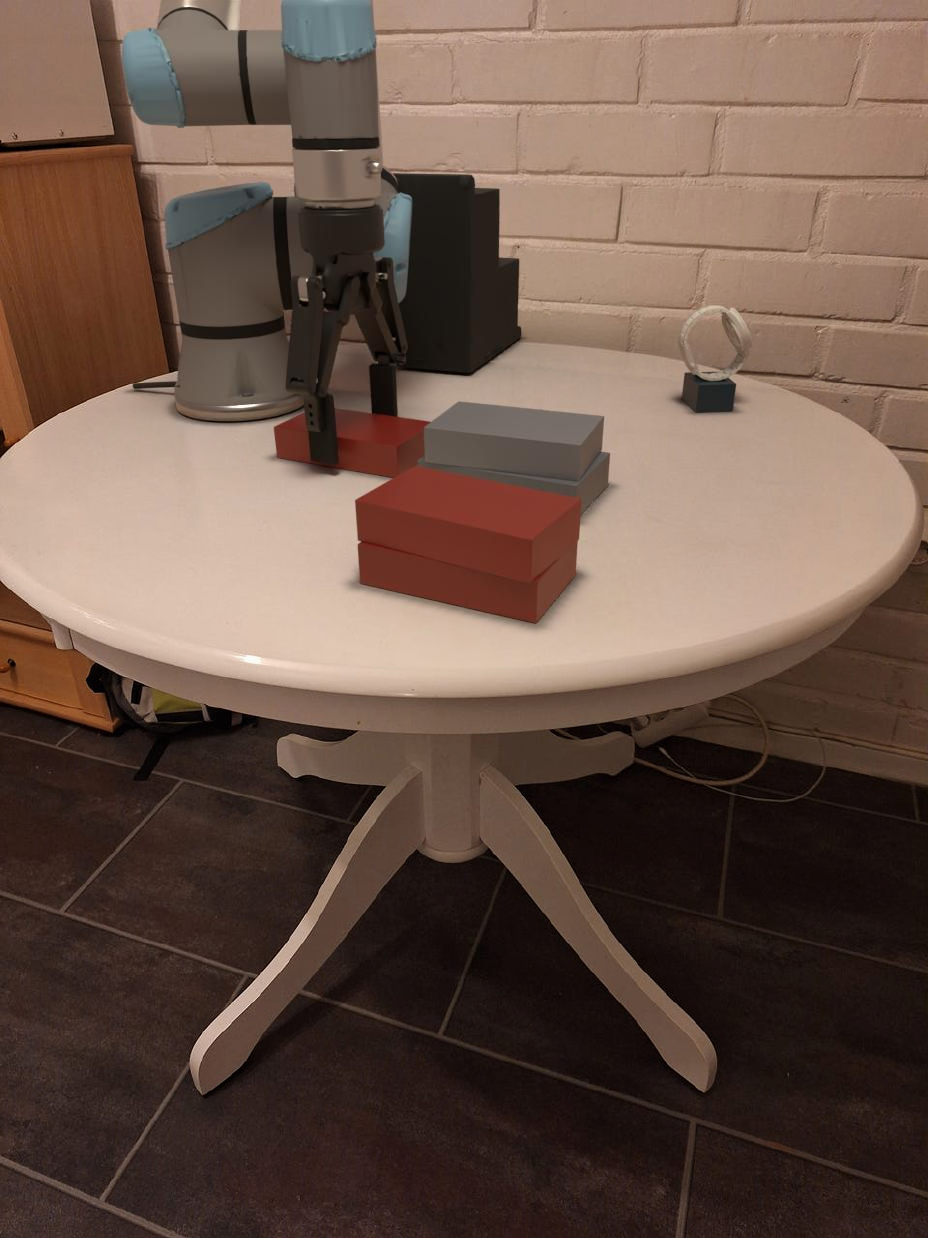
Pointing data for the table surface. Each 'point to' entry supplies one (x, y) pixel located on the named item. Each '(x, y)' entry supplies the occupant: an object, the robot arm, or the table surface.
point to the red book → (359, 442)
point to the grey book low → (543, 479)
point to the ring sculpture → (713, 386)
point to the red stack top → (470, 522)
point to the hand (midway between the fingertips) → (356, 444)
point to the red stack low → (465, 582)
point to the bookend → (456, 275)
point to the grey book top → (515, 440)
